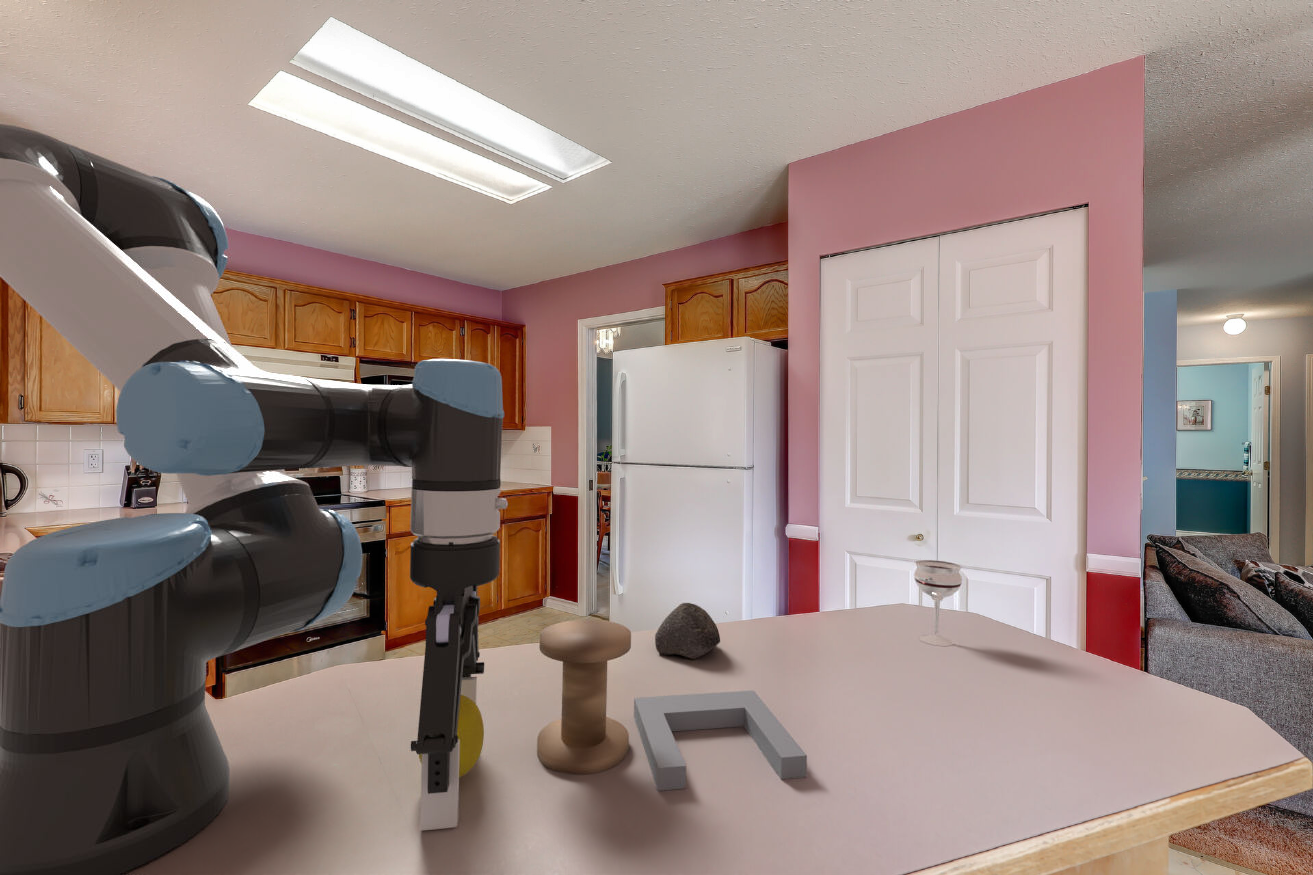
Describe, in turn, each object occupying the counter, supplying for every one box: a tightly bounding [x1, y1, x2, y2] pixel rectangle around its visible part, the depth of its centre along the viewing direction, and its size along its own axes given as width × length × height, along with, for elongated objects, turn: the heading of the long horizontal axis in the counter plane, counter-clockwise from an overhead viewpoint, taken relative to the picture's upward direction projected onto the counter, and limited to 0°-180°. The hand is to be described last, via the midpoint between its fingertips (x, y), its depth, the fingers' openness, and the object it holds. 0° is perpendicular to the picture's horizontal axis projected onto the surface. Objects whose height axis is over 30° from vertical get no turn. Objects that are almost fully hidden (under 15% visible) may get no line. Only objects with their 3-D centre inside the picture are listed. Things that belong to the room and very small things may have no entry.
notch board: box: [633, 690, 808, 792], centre depth 60 cm, size 14×14×2 cm
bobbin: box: [536, 619, 632, 775], centre depth 58 cm, size 9×9×11 cm
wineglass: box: [914, 559, 963, 647], centre depth 93 cm, size 7×7×12 cm
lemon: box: [418, 695, 485, 778], centre depth 52 cm, size 6×6×8 cm
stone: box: [654, 602, 721, 660], centre depth 86 cm, size 10×8×10 cm
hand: (451, 780), depth 52 cm, fingers open, 12 cm apart
